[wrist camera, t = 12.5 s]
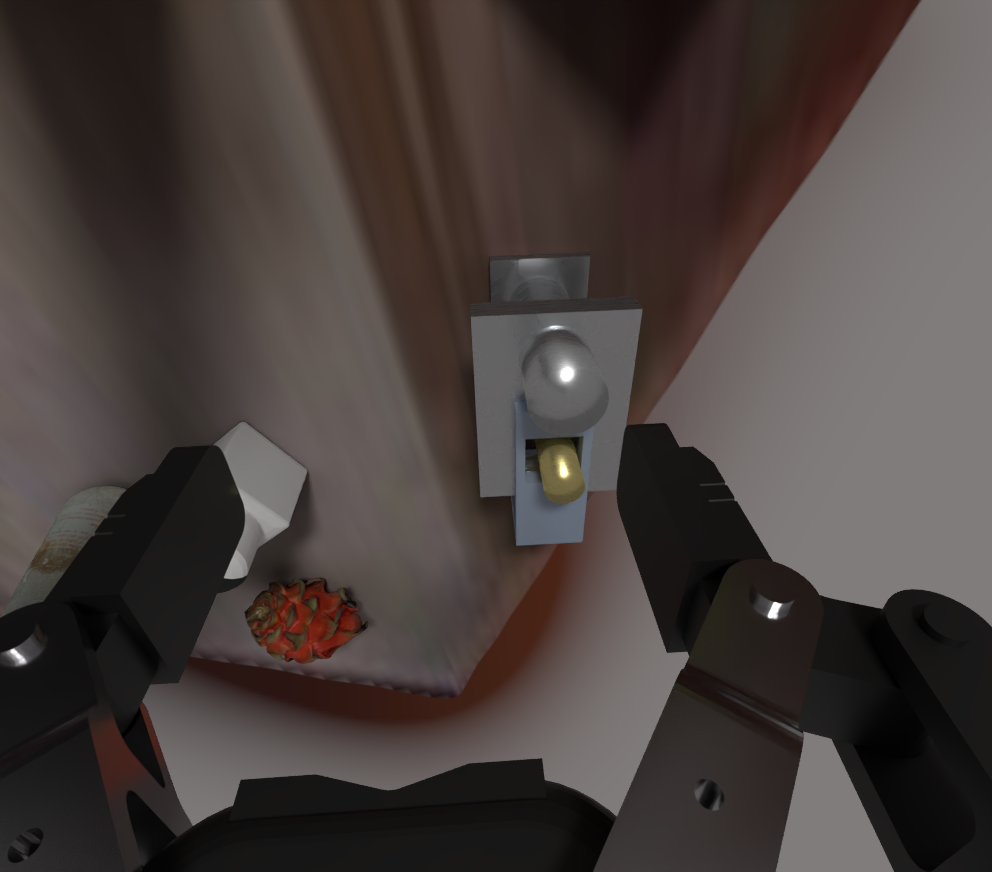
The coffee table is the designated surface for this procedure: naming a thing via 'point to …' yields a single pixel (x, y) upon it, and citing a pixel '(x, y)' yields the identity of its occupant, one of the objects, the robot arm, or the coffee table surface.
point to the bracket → (529, 504)
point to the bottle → (64, 543)
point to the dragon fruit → (303, 620)
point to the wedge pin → (560, 469)
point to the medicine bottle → (259, 493)
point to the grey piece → (551, 364)
